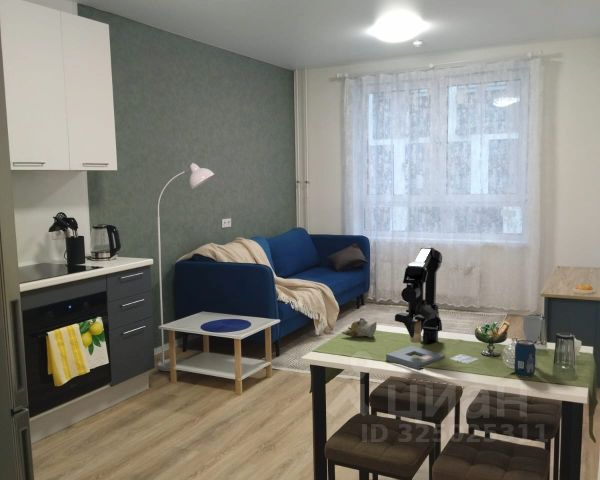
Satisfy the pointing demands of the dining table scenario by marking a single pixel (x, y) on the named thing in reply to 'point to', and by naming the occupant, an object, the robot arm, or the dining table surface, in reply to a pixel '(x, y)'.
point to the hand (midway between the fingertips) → (415, 336)
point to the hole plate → (412, 362)
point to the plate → (464, 358)
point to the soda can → (525, 358)
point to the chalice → (532, 328)
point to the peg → (417, 332)
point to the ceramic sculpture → (361, 328)
